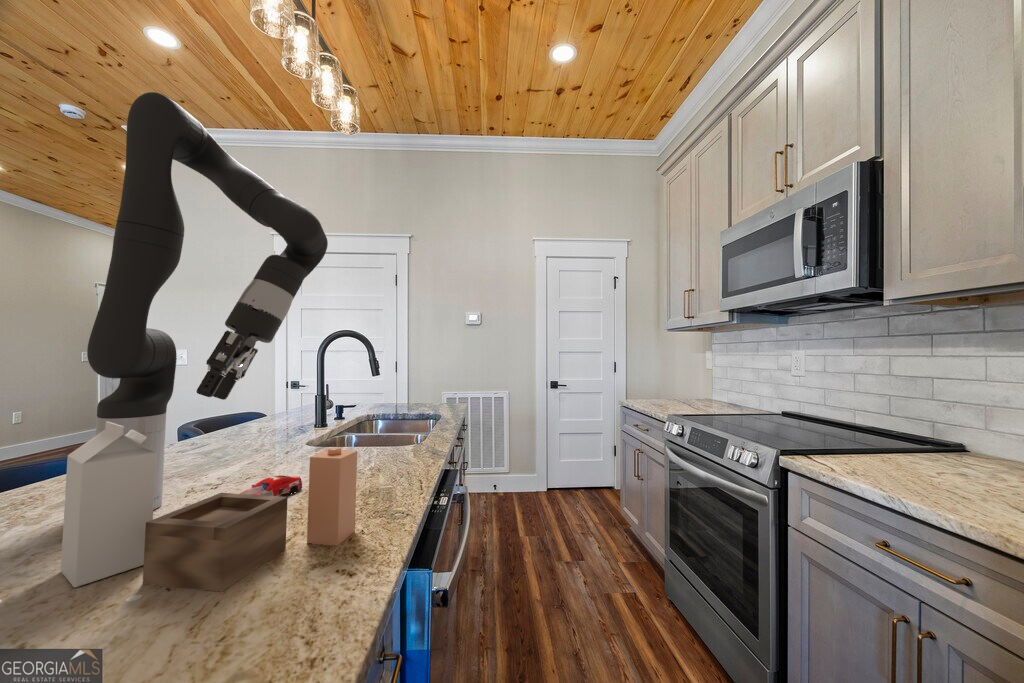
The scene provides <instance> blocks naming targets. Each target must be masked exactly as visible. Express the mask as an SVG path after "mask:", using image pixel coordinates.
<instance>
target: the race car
mask: <svg viewBox="0 0 1024 683" xmlns="http://www.w3.org/2000/svg"><path fill="white" fill-rule="evenodd" d="M302 488H303V481H302V478H301V477H300V476H296V475H273V476H269V477H266V478H263V479H262V480H260V481H258V482H256V483H255V484H252V485H251V487H250V488H248V489H245V491H242V492H240V493H239V494H249V495H265V496H281V497H288V496H291V495H290V494H291V493H294V492H296V493H297V492H299V491H301V490H302ZM287 495H288V496H287Z"/></svg>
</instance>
